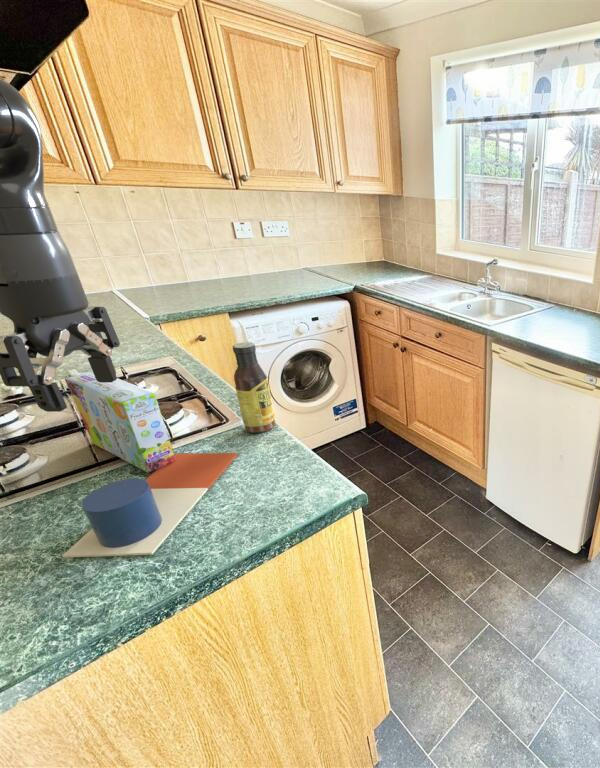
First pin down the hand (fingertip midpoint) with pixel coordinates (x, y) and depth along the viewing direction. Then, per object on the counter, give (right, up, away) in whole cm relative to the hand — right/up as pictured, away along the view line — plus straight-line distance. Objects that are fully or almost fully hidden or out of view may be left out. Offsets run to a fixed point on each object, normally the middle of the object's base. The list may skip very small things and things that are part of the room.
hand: (83, 394), depth 56 cm
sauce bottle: (0, -9, +40) cm, 41 cm away
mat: (-4, -19, +18) cm, 26 cm away
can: (-3, -22, +10) cm, 24 cm away
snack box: (-19, -12, +29) cm, 36 cm away
